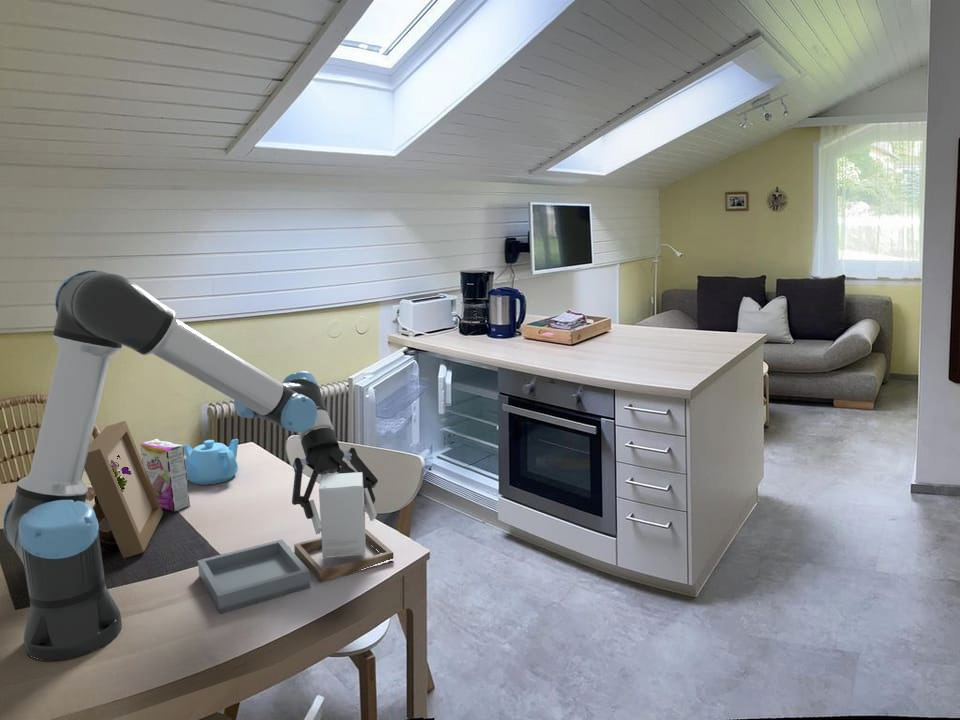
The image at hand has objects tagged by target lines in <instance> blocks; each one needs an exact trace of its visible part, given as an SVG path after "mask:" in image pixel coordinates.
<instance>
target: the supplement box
mask: <svg viewBox="0 0 960 720" xmlns="http://www.w3.org/2000/svg"><path fill="white" fill-rule="evenodd" d="M318 497H319V519H320V522H321V525H322V530H321V532H320V535H321V537H322V548H321V550H322V555H321V556H322V557H323V558H326V557H335V556H352V555H365V554H366V543H367V542H366V536H365V529H366V513H365V511H366V507H365V504H364V489H363V474H362V472H357V471H355V473H342V474H339V473H327V474H324V475H321V474H320V480H319V487H318Z"/></svg>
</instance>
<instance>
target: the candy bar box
mask: <svg viewBox="0 0 960 720" xmlns="http://www.w3.org/2000/svg"><path fill="white" fill-rule="evenodd" d="M139 444H140V452H141V460H142V462H143V465H144V467H145V470H146V472H147V474H148V477H149V479H150V482H151V484H152V487H153V489H154V491H155V494H156V496H157V499H158V501H159V504H160V506H161V508H162V509H163V508H164V510H166V509H168V510H167V511H169V510H171V511H170V512H173V511H174V512H173V513H176V512H175V511H177V512H179V511H181V509H182V510H183V509H186V508H189V507H190V506H191V504H190V503H191V502H190V494H189V487H188V479H187V474H186V466H185V458H186V456H185V453H184V449H183V444H178V443H175V442H170V441H167V440H164V439H163V440H162V439H159V438H155V439H151V440H148V441H144V442H141V443H139ZM178 510H179V511H178Z"/></svg>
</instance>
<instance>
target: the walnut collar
mask: <svg viewBox="0 0 960 720" xmlns="http://www.w3.org/2000/svg"><path fill="white" fill-rule="evenodd" d="M365 536H366V541H367V542H368V543H369V544H370V545H372V546H373V547H374V548H375V549H377V550H378V551H379V552H380V553H382V554H379V553H377V554H375V555H371V556H367V557H364V558H360V559H358V560H357V559H356V560H353V561H350V562H346V563H343V564H342V563H341V564H340V565H336V566H332V567H329V568H326V569H323V568H322V567H321V566H320V565H319V564H318V563H317V561H316V560H315V559H313V557H312V556H311V555H310V554H309V552H311V551H316V550H318V549H322V537H317V538H313V539H307V540H305V541H301V542H297V543H294V544H293V546H294V547H293V548H294V554H295V555H296V556H297V557H298V558H299V559H300V561H301V562H302V563H303V564H304V565H305V566H306V567H307V569H308V570H309V572H311V573H312V574H313V576H314V577H315V578H316V579H317V580H318V582H320V583H324V582H327V581H331V580H335V579H338V578H341V577H340V576H342V577H344V575H345V576H348V575H352V574H354V573H353V572H355V573H357V572H356V571H359V570H361V569H364V568H367V567H370V566H373V565H375V564H378V563H381V562H384V561H386V560H390V559H393V558H394V555H395V554H394V551H393V550H391V549H390V548H388V547H387V546H386V545H385V544H384V543H383V542H382V541H381V540H379V538H378V537H376V536H375V535H374V534H372V532H370V531H369V530H368V529H366V528H365ZM367 542H366V543H367ZM368 543H367V544H368ZM369 544H368V545H369ZM370 545H369V546H370ZM373 547H372V548H373ZM374 548H373V549H374ZM375 549H374V550H375ZM394 559H395V558H394ZM359 572H360V571H359ZM351 573H352V574H351ZM347 574H348V575H347Z"/></svg>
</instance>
